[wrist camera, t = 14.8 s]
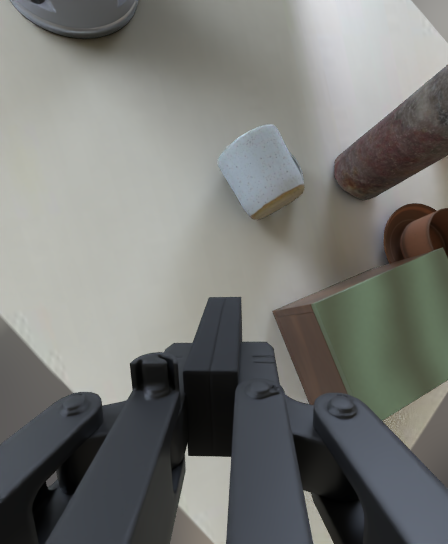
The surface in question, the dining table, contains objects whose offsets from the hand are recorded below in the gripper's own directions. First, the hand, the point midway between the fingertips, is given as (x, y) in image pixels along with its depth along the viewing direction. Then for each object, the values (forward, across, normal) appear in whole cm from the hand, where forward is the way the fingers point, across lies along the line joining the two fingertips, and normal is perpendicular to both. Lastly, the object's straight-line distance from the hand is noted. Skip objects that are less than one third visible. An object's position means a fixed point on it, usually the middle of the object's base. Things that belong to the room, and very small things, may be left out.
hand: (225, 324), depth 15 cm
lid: (+16, +16, -7) cm, 24 cm away
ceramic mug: (+28, +3, +7) cm, 29 cm away
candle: (+34, +16, +8) cm, 38 cm away
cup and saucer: (+32, +24, -2) cm, 40 cm away
